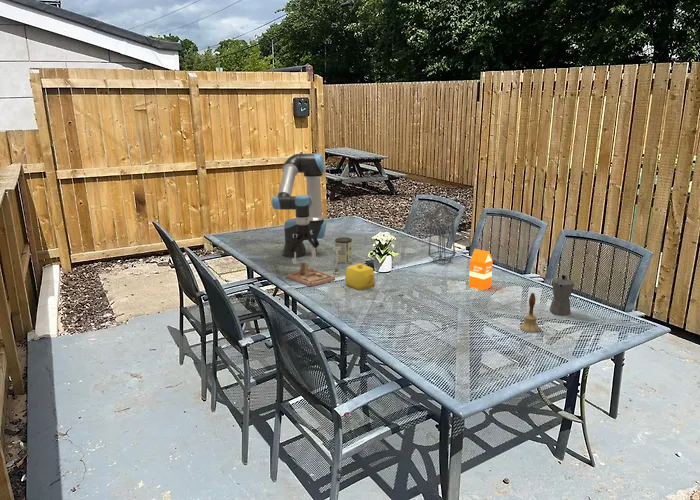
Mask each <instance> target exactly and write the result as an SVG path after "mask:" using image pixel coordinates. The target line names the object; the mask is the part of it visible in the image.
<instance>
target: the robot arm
mask: <svg viewBox="0 0 700 500" xmlns="http://www.w3.org/2000/svg"><path fill="white" fill-rule="evenodd" d="M281 170H282V176H281V179H280V184H279V188H278V192H277V195H275V196H273V197H272V198H271V205H272V209H273V210H281V211H283V210H284V211H285V210H287V211H288V210H295V217H293V218H290V219H287V220H285V221H284V226H283V227H284V228H283V229H284V245H283V250H282V256H284V257H287V258H291V259H292V260H291V262H292V263H293V264H294V265H296V264H297V258H299V257H304V256H305V255H307V250H306V247H305V246H306V245H305V244H304V241H308V243H310V245H311V258H312V259H314V260H316V259H317V258H316V257H317V256H316V255H317V254H316V253H317V251H318V250H317V248H318V247H319V246H320V241H318V240H319V239H320V240H322V239H324V238H325V236H326V229H327V221H326V220H325V219H324V216H322V200H321V199H322V198H321V195H322V194H321V191H322V190H321V178H322V177H323V174H324V173H325V172H326V165H325V159H324V156H323V154H321V153H296V154H292V155H291V156H289V157H288V158H287V159H286V160H285V161H284V163H283V165H282V169H281ZM299 173H300V174H303V176H304V178H305V179H306V180H305V181H306V194H301V195H297V196H295V195H292V193H293V187H294V184H295V180H296V176H297V175H298V174H299Z"/></svg>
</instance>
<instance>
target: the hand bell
mask: <svg viewBox="0 0 700 500" xmlns="http://www.w3.org/2000/svg"><path fill="white" fill-rule="evenodd" d="M528 305H529V311H528V314H527V315H526V316H524V321H523V323H522V324H521V325H520V326H519V329H520V330H521V331H523V332H526V333H537V332H540V331H541V328H540V327H539V325H538V323H537V317H536V316H535V315H534V308H535V305H536V295H535V293H534V292H532V293H530V296H529V299H528Z"/></svg>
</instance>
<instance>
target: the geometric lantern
mask: <svg viewBox="0 0 700 500" xmlns="http://www.w3.org/2000/svg"><path fill="white" fill-rule="evenodd" d="M439 213H441V216H440V217H439V216H438V215H439ZM459 215H460V214H459V213H457V212H456V211H454V210H452V209H450V208H448V207H447V206H444V205H440V206H438V207H436V208H435V209H433V210H432V211H430V212H429V211H428V212H427V213H426V214H425V217H426V218H427V219H428V220H429V221H430V222H431V223H430V226H429V242H428V244H429V245H428V253H427V255H428V256H429V257H430V258H432V261H433V263H434V264H435V263H436V264H440V265H445V264H446V265H447V264H449V263H451V262H452V259H453V258H454V257H455V256H456V251H455V250H456V249H455V248H456V247H455V246H456V245H455V234H454V230H455V229H454V220H455V219H456V218H457V217H458V216H459ZM442 219H444V222H443V224H440V223H439V221H440V220H442ZM433 223H436V225H433ZM448 223H451V226H450V225H448ZM432 225H433V226H432ZM447 226H448V227H450V228H446V227H447ZM436 227H438V228H436ZM441 227H442V228H441ZM432 230H438V242H439V243H437V244H438V248H437V251H435V252H432V253H431V238H432V237H431V235H432ZM446 230H452V232H451V233H452V245H453V246H452V247H453V250H452V251H453V252H449V251H446V242H445V231H446ZM437 253H438V256H434V255H435V254H437ZM446 254H450V255H448V256H446ZM443 255H444V256H443ZM437 261H440V262H437ZM441 262H442V263H441Z"/></svg>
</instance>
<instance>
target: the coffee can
mask: <svg viewBox="0 0 700 500" xmlns="http://www.w3.org/2000/svg"><path fill="white" fill-rule="evenodd" d="M334 241H335V242H334V244H335V247H339V246H340V247H341V249H340V250H338V264H350V263H352V262H353V252H352V249H353V246H352V245H353V243H352V242H353V239H352V238H350V237H337V238H335V239H334ZM335 247H334V248H335Z"/></svg>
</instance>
